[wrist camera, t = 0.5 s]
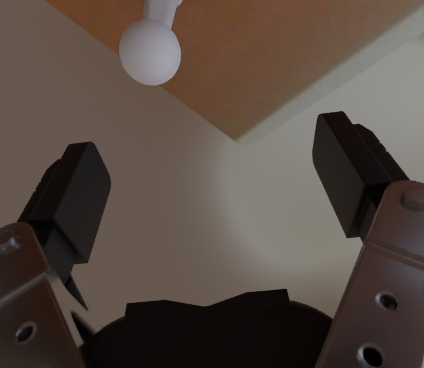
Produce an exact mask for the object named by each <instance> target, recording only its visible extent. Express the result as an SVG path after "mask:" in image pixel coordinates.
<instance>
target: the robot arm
mask: <svg viewBox="0 0 424 368" xmlns="http://www.w3.org/2000/svg"><path fill="white" fill-rule="evenodd" d="M312 152H313V153H312V155H313V163H314V166H315V169H316V171H317V173H318V175H319V178H320V180H321V182H322V184H323V186H324V189H325V191H326V193H327V195H328V197H329V200H330V202H331V204H332V206H333V209H334V211H335V213H336V215H337V217H338V220H339V222H340V224H341V226H342V228H343V231H344V233H345V235H346V237H347V238H354V237H360V238H361V240H362V242H363V246H362V248H361V251H360V253H359V256H358V258H357V261H356V263H355V266H354V268H353V271H352V273H351V276H350V278H349V281H348V283H347V286H346V289H345V291H344V293H343V296H342V298H341V301H340V303H339V306H338V308H337V311H336V313H335V316H334V318H333V319H332V318H331V317H329V316H328V315H326V314H325V313H323V312H321V311H319V310H318V309H316V308H313V307H311V306H309V305H306V304H303V303H299V302H296V301H290V300H289V297H288V292H287V289H279V290H269V291H257V292H246V293H244V294H241V295H238V296H235V297H233V298H230V299H227V300H225V301H221V302H219V303H216V304H213V305H211V306H205V307H203V306H197V305H191V304H186V303H180V302H174V301H168V300H160V301H148V302H137V303H127V306H126V312H125V316H123V317H121V318H119V319H117V320H115V321H113V322H111V323H110V324H108V325H106V326H105V327H103V328H102V326H101V325H100V324H99V322H98V320H97V319H96V317H95V316H94V314H93V312H92V310H91V308H90V306H89V304H88V302H87V300H86V298H85V296H84V294H83V292H82V290H81V288H80V286H79V284H78V282H77V281H76V279H75V277H74V275H73V274H72V273H71V271H72V268H73V265H74V264H83V263H88V260H89V258H90V254H91V251H92V248H93V244H94V241H95V238H96V235H97V231H98V228H99V225H100V222H101V218H102V215H103V212H104V209H105V205H106V202H107V198H108V195H109V192H110V189H111V180H110V175H109V173H108V171H107V169H106V166H105V164H104V162H103V160H102V158H101V156H100V154H99V152H98V150H97V148H96V146H95V144H94V143H92V142H83V143H74V144H69V145H68V147H67V148H66V150H65V152H64V154H63V156H62V158H61V159H58V160H57V161H56V162H54V163H53V164H52V165H51V166H50V167H49V168H48V169H47V170H46V172H45V174H44V175H43V177H42V179H41V182H40V183H39V184H38V186H37V188H36V191H34V193H33V194H32V196H31V198H30V200H29V202H28V203H27V205H26V207H25V208H24V210H23V212H22V214H21V215H20V217H19V219H18V221H17V222H16V223H12V224H9V225H6V226H4V227H2V228H0V368H424V183H421V182H416V181H411V180H410V179H409V178H408V177H407V176H406V174H405V173H404V172H403V170H402V169H401V168H400V167H399V165H398V164H397V163H396V162H395V160H394V159H393V158H392V156H391V155H390V154H389V152H386V149H385V147H384V146H383V145H382V144H381V143H380V141H379V140H378V139H377V137H376V136H375V135H374V133H373V132H372V131H370V130H369V129H367V128H365V127H364V126H362V125H360V124H352V123H351V121H350V120H349V118H348V117H347V116H346V114H345V113H344V112H343V111H339V112H331V113H323V114H319V115H318V118H317V123H316V130H315V137H314V144H313V151H312Z"/></svg>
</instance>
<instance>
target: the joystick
mask: <svg viewBox="0 0 424 368" xmlns="http://www.w3.org/2000/svg"><path fill="white" fill-rule="evenodd" d="M181 2H182V0H145V1H144V8H143V14H142V20H139V21H136V22H134V23H132V24H131V25H130V26H129V27H127V29H126V30H125V31H124V33H123V34H122V37H121V39H120V44H119V55H120V60H121V62H122V64H123V67H124V69H125V70H126V71H127V73H128V74H129V75H130V76H131V77H132V78H133V79H135V80H136V81H138V82H140V83H142V84H146V85H159V84H162V83H165V82H166V81H168V80H169V79H171V78H172V77H173V76H174V74H175V73H176V71H177V69H178V67H179V64H180V59H181V51H180V46H179V43H178V40H177V38H176V36H175V35H174V33H173V32H172V31H171V27H172V23H173V19H174V15H175V11H176V7H178V6H179V5H180V4H181Z"/></svg>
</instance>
